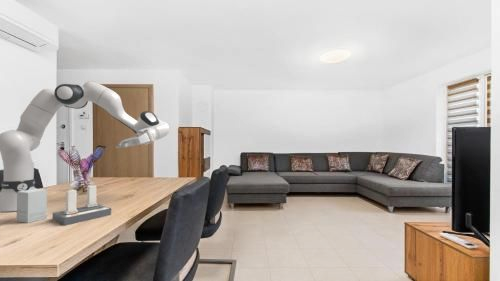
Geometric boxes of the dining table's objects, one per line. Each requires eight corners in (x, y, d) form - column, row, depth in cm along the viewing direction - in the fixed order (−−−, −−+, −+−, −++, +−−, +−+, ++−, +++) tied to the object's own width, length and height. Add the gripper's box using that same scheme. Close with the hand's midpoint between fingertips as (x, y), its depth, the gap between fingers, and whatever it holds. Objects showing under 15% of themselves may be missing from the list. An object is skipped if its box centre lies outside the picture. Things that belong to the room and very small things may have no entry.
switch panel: (52, 219, 103) (52, 211, 103) (97, 210, 118) (97, 203, 118) (64, 225, 96) (64, 217, 96) (110, 214, 111) (111, 207, 111)
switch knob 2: (85, 206, 112) (86, 186, 112) (95, 204, 116) (95, 185, 116) (88, 207, 111) (88, 186, 111) (97, 205, 114) (97, 185, 114)
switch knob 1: (64, 213, 101) (64, 191, 101) (75, 211, 105) (75, 189, 105) (66, 214, 100) (67, 191, 100) (77, 212, 103) (78, 190, 103)
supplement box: (47, 218, 105) (47, 189, 106) (26, 223, 98) (27, 192, 99) (36, 216, 108) (36, 188, 108) (15, 221, 101) (16, 191, 101)
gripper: (133, 133, 140) (109, 142, 130) (151, 129, 128) (126, 139, 117) (137, 143, 142) (114, 153, 131) (155, 140, 129) (132, 150, 119)
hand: (120, 146), depth 124 cm, fingers open, 8 cm apart
